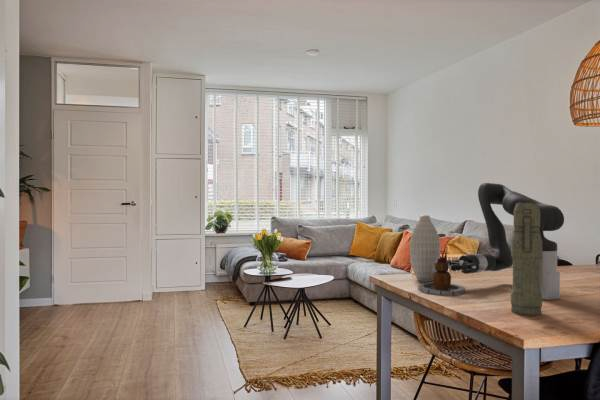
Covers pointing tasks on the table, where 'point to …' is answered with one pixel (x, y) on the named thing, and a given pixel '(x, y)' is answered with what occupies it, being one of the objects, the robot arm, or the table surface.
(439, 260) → the wooden figurine
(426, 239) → the vase
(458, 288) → the steel ring
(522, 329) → the table surface
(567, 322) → the table surface
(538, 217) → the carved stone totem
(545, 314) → the table surface
